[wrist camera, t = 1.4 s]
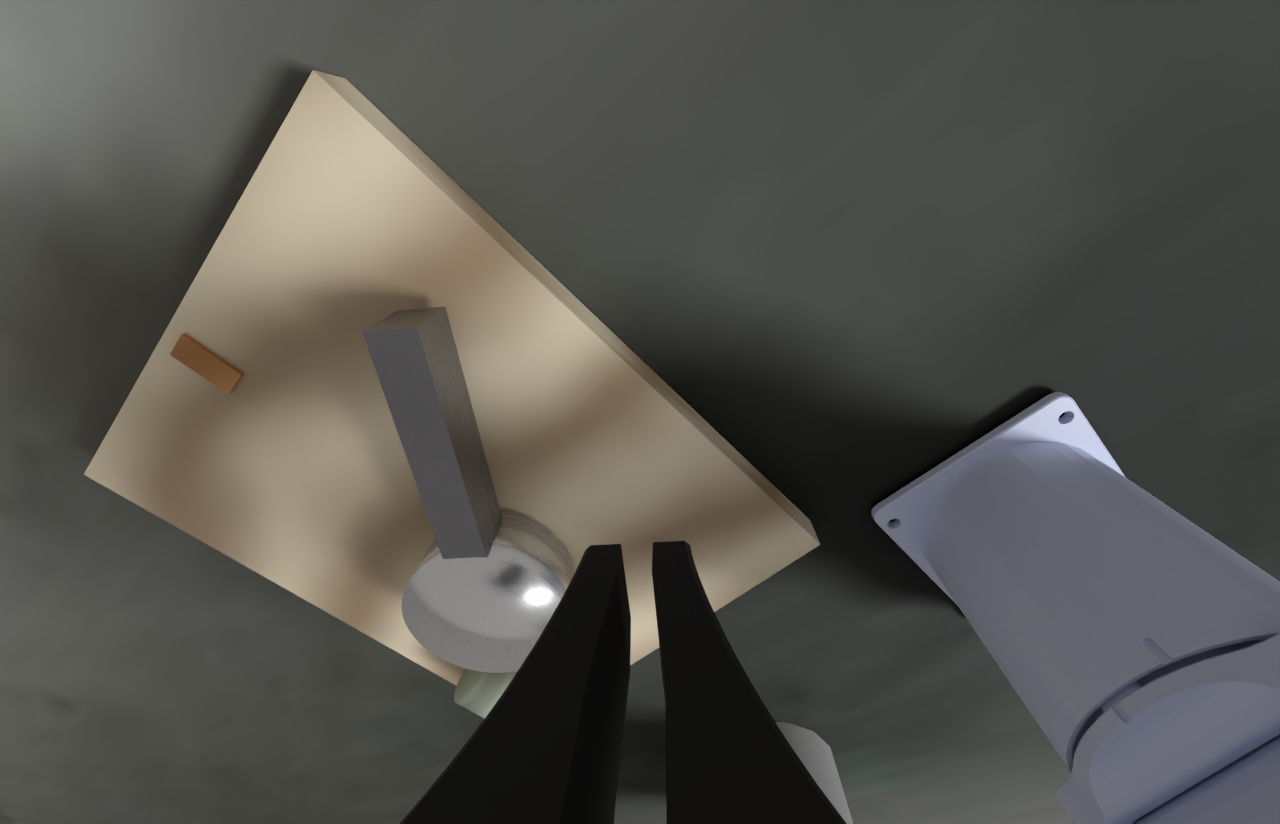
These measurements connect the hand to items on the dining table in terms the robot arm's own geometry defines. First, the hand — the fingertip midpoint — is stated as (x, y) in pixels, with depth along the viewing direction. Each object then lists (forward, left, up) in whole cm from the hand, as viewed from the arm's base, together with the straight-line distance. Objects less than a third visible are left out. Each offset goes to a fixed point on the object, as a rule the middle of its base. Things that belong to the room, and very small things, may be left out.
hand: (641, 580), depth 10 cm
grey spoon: (+2, +7, -8) cm, 10 cm away
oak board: (+2, +8, -9) cm, 13 cm away
